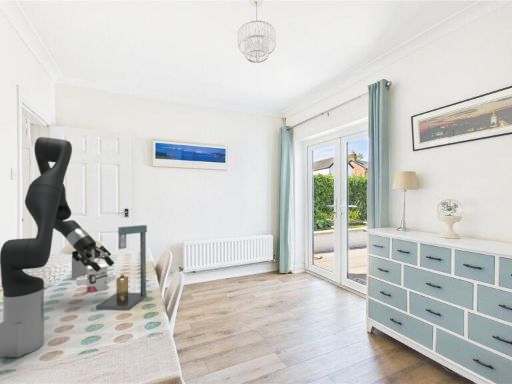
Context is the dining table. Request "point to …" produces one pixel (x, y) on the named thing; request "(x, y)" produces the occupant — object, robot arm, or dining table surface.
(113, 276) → the white brass knuckles
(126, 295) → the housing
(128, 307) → the stand
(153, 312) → the dining table surface
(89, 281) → the ink box
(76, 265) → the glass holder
